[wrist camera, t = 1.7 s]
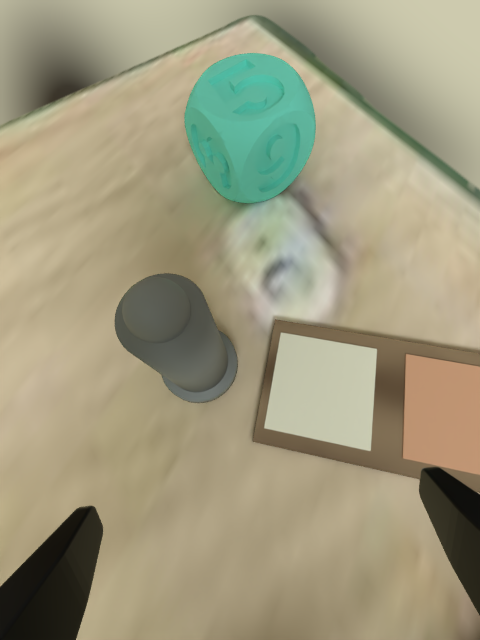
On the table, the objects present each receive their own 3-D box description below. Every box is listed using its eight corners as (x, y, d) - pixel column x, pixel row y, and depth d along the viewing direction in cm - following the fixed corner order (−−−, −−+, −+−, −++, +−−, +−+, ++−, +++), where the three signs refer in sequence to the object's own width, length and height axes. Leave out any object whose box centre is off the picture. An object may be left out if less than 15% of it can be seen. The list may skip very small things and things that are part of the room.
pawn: (218, 415, 23) (173, 385, 12) (151, 384, 24) (52, 330, 13) (249, 346, 25) (235, 262, 14) (185, 320, 26) (124, 223, 15)
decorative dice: (258, 130, 33) (256, 38, 26) (310, 175, 30) (325, 86, 23) (194, 168, 32) (173, 83, 24) (242, 219, 29) (234, 140, 22)
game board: (705, 543, 18) (717, 545, 18) (252, 441, 22) (252, 441, 22) (665, 386, 21) (674, 385, 21) (275, 321, 25) (275, 318, 25)
